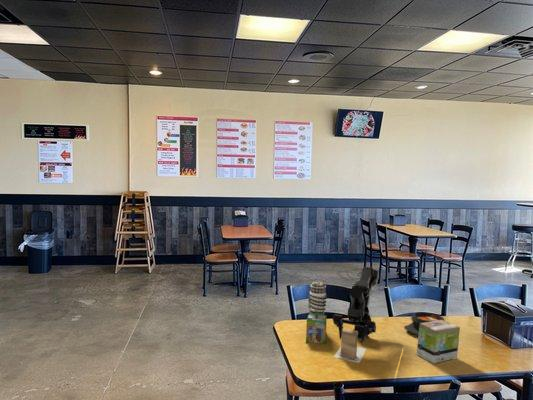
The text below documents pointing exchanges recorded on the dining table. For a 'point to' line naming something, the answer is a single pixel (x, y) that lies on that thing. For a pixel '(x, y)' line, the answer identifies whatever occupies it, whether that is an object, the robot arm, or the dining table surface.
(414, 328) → the casserole
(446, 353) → the tea box
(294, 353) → the dining table surface
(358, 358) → the board
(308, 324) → the chalk box
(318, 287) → the leaning tower model
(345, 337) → the block
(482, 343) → the dining table surface
